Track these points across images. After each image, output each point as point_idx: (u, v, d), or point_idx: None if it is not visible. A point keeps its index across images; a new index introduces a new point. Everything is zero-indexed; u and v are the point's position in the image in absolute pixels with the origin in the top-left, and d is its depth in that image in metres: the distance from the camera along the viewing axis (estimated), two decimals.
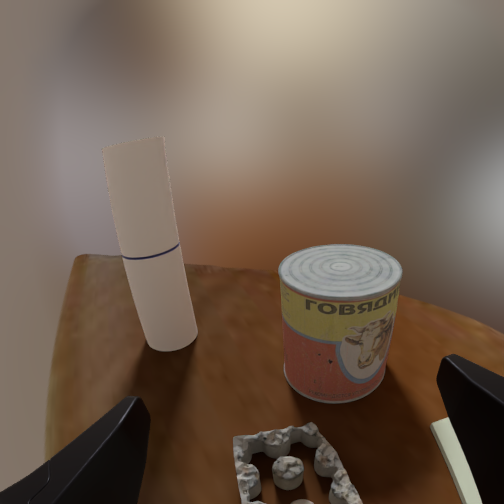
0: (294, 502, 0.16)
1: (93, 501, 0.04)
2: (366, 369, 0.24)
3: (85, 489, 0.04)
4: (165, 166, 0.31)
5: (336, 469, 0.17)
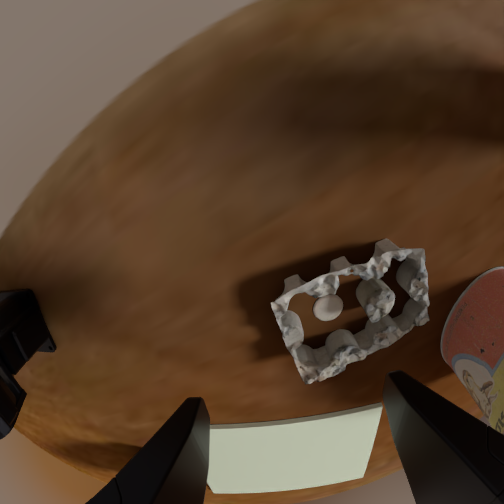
0: (339, 300, 0.21)
1: None
2: (460, 372, 0.19)
3: None
4: None
5: (369, 343, 0.20)
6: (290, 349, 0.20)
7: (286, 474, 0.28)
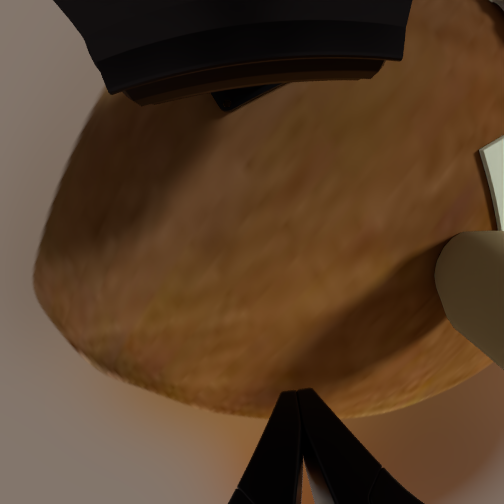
0: None
1: None
2: None
3: None
4: None
5: None
6: None
7: None
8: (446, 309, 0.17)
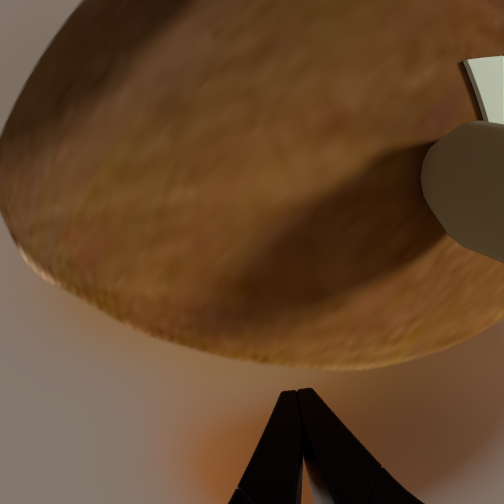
0: None
1: None
2: None
3: None
4: None
5: None
6: None
7: None
8: (437, 202, 0.14)
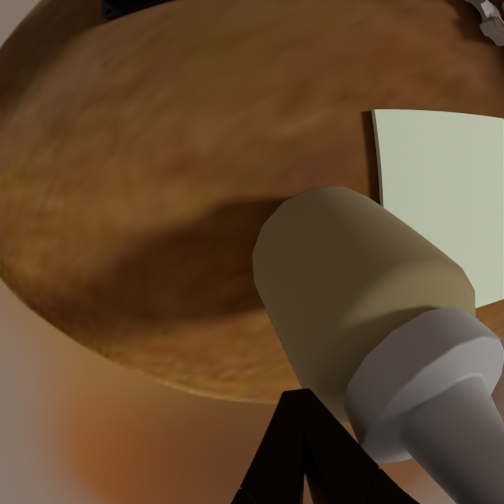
0: (497, 9, 0.12)
1: None
2: None
3: None
4: None
5: None
6: (490, 16, 0.11)
7: (486, 251, 0.19)
8: (253, 270, 0.16)
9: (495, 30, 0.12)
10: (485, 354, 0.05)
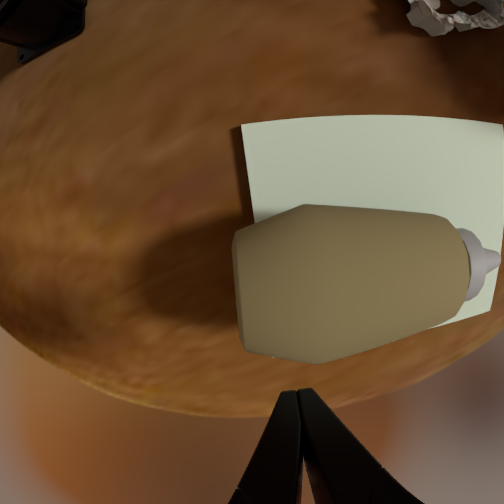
0: None
1: None
2: None
3: None
4: None
5: None
6: (414, 1, 0.12)
7: None
8: (332, 326, 0.11)
9: (423, 17, 0.12)
10: None
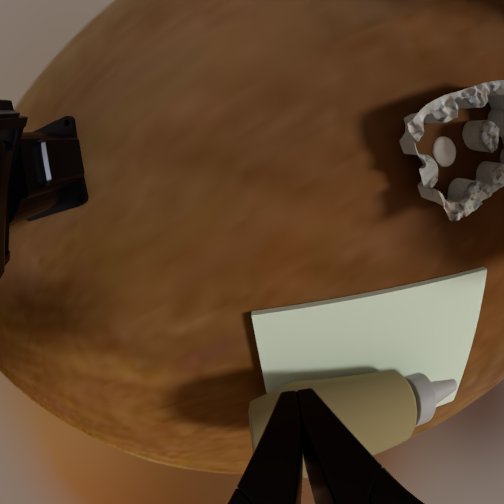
0: (452, 143, 0.17)
1: None
2: None
3: None
4: None
5: (488, 185, 0.16)
6: (429, 185, 0.16)
7: None
8: None
9: (433, 199, 0.17)
10: None
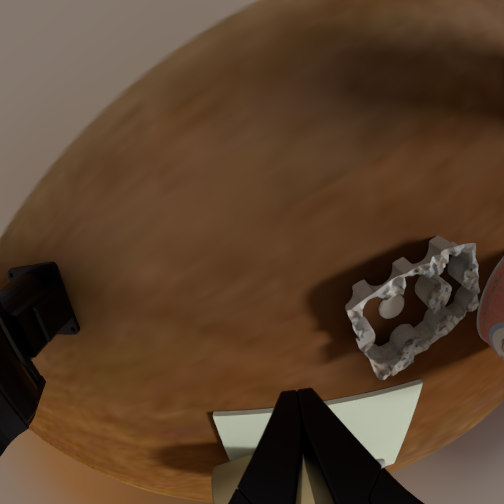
0: (401, 298, 0.21)
1: None
2: (499, 342, 0.18)
3: None
4: None
5: (430, 333, 0.20)
6: (364, 350, 0.20)
7: None
8: None
9: (369, 354, 0.21)
10: None
